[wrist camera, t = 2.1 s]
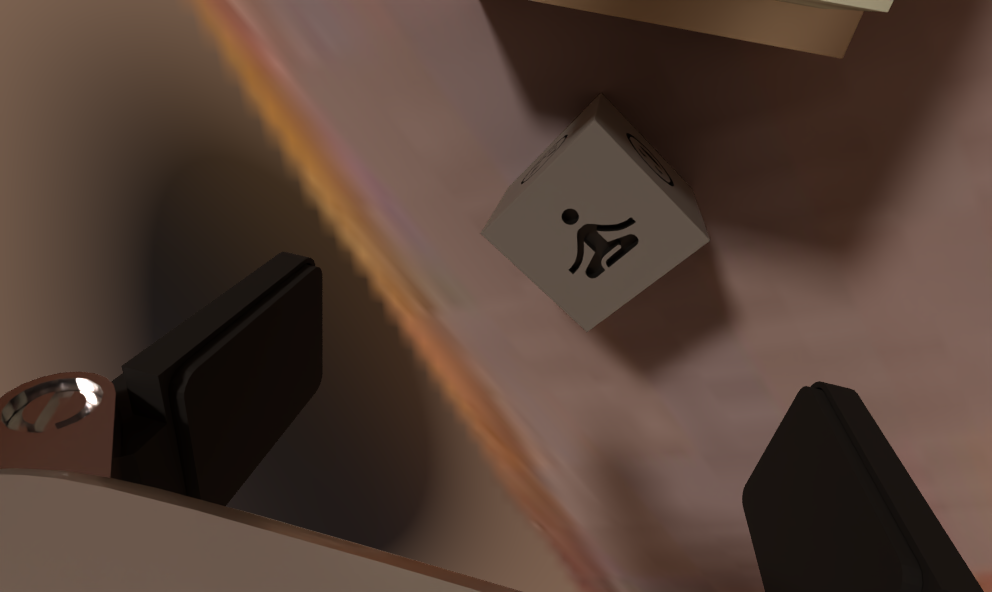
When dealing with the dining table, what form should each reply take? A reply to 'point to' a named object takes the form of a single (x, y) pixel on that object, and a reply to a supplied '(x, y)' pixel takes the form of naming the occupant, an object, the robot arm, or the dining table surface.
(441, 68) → the dining table surface
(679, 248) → the dice cube
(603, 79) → the dining table surface
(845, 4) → the cream layered block
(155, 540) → the robot arm
